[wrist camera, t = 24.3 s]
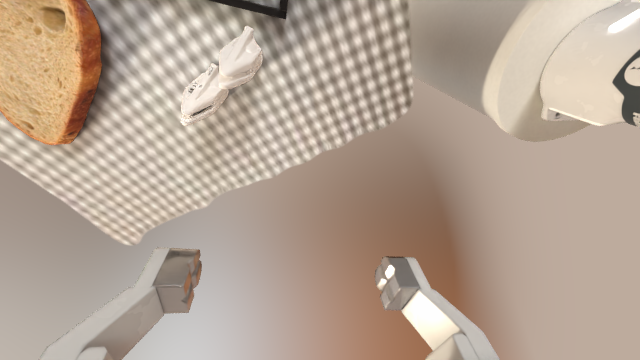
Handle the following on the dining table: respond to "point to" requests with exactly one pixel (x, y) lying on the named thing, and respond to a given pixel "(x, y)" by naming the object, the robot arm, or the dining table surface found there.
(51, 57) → the bread slice
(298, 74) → the dining table surface
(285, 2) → the dish rack
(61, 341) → the robot arm
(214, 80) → the shaker set
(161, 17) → the dining table surface
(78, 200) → the dining table surface
